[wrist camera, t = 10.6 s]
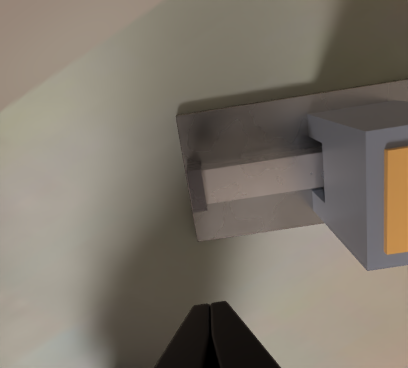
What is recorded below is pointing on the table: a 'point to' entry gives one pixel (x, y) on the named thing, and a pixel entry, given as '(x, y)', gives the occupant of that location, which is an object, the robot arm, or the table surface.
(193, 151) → the rail
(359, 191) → the grey slider block
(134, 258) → the table surface
